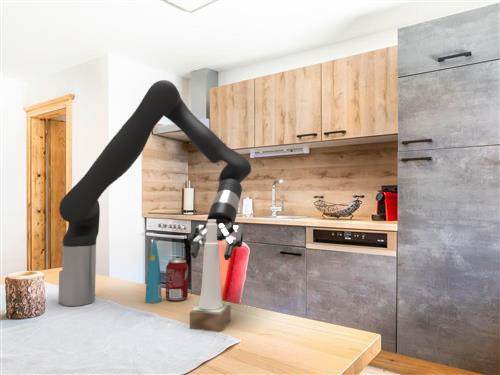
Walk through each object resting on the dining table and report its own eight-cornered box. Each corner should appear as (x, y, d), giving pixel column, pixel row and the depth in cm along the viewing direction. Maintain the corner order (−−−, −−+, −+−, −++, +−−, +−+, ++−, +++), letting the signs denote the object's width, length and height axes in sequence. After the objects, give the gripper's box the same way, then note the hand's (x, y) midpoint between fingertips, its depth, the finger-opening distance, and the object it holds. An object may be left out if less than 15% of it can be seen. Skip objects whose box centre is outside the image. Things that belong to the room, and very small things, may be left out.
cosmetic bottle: (195, 309, 91) (196, 220, 92) (203, 302, 97) (204, 218, 97) (218, 311, 90) (219, 220, 90) (225, 304, 95) (226, 219, 96)
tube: (143, 298, 116) (145, 237, 116) (159, 297, 117) (160, 236, 118) (147, 305, 109) (148, 240, 109) (163, 303, 111) (164, 239, 111)
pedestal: (189, 328, 90) (189, 310, 90) (201, 318, 98) (201, 301, 98) (220, 331, 88) (221, 313, 88) (230, 320, 96) (230, 303, 96)
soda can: (182, 302, 112) (183, 263, 112) (162, 301, 113) (162, 262, 113) (190, 296, 118) (191, 259, 118) (171, 295, 119) (171, 258, 120)
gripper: (196, 200, 103) (179, 247, 91) (246, 201, 99) (234, 249, 88) (203, 218, 108) (187, 264, 96) (250, 219, 104) (239, 267, 93)
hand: (209, 257), depth 92 cm, fingers open, 8 cm apart
